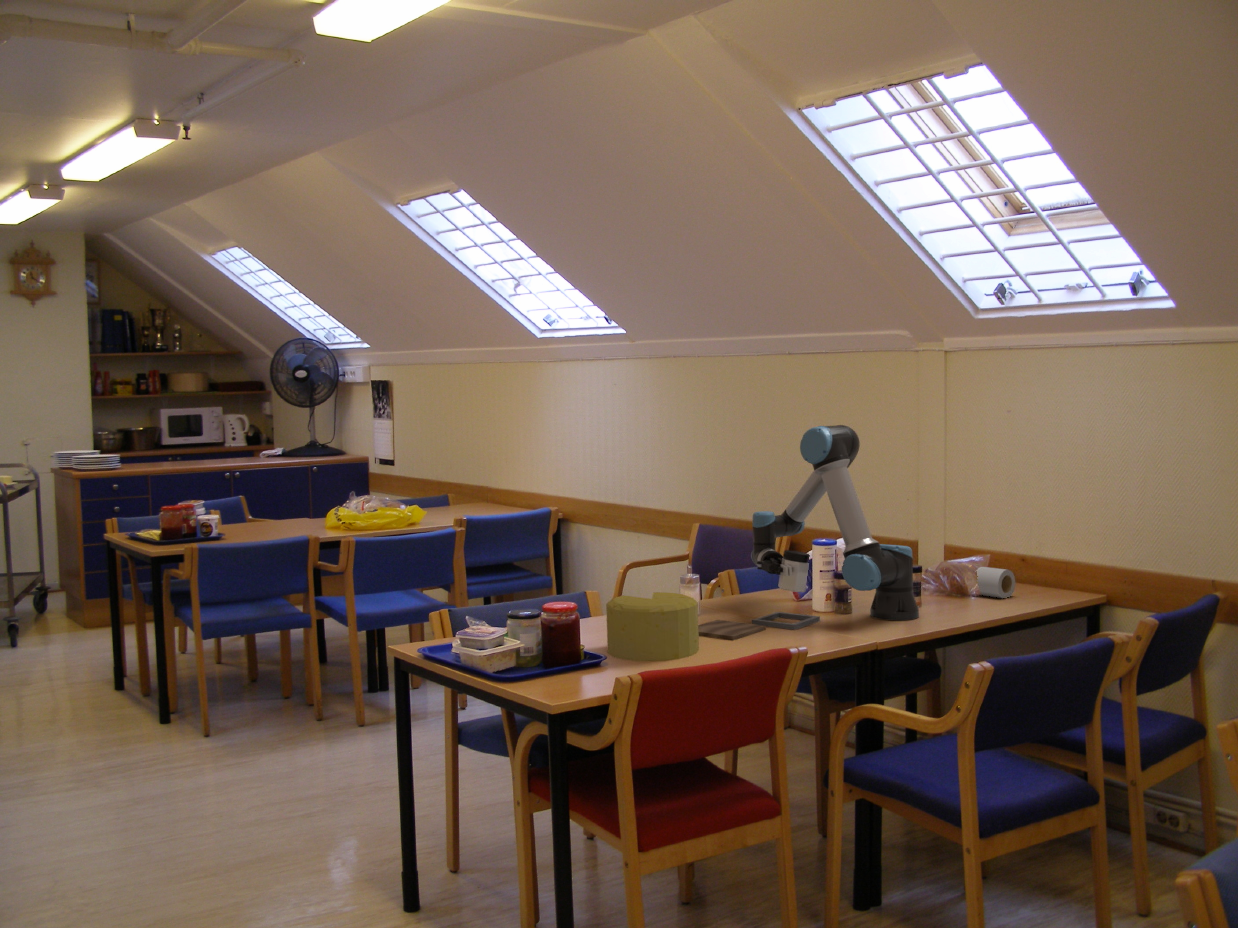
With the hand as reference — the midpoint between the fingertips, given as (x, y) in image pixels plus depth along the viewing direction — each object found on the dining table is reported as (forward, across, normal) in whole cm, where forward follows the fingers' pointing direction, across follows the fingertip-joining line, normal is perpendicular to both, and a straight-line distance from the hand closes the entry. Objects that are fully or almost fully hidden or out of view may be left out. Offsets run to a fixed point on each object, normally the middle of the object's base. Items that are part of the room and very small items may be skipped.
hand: (788, 571), depth 339 cm
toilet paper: (-33, -80, -18) cm, 89 cm away
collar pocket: (-6, 0, -17) cm, 18 cm away
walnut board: (+3, +21, -17) cm, 27 cm away
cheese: (+23, +46, -17) cm, 54 cm away
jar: (-8, -3, -7) cm, 12 cm away
